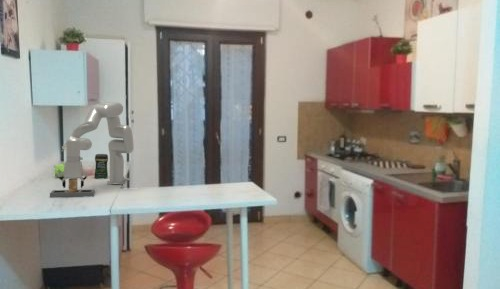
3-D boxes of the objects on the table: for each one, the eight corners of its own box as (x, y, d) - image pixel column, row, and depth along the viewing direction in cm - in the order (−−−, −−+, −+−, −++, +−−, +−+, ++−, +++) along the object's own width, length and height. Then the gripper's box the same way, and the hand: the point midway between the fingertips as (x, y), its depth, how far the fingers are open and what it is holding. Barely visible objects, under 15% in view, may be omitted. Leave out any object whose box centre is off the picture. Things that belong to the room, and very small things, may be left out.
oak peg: (77, 194, 246) (77, 178, 245) (76, 196, 241) (76, 179, 241) (69, 194, 244) (69, 178, 243) (68, 196, 240) (68, 179, 239)
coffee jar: (93, 178, 303) (93, 154, 302) (95, 177, 311) (95, 153, 310) (107, 178, 305) (107, 154, 304) (108, 177, 313) (108, 153, 312)
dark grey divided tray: (94, 193, 251) (94, 189, 250) (93, 196, 242) (93, 192, 242) (52, 194, 244) (52, 190, 244) (49, 197, 235) (49, 193, 235)
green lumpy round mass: (71, 175, 316) (72, 161, 315) (77, 178, 305) (78, 163, 304) (51, 176, 306) (51, 162, 305) (56, 179, 295) (56, 164, 295)
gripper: (89, 158, 247) (89, 186, 249) (58, 158, 242) (58, 186, 244) (88, 160, 240) (87, 188, 241) (56, 160, 235) (56, 188, 236)
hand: (73, 187), depth 242 cm, fingers open, 9 cm apart
